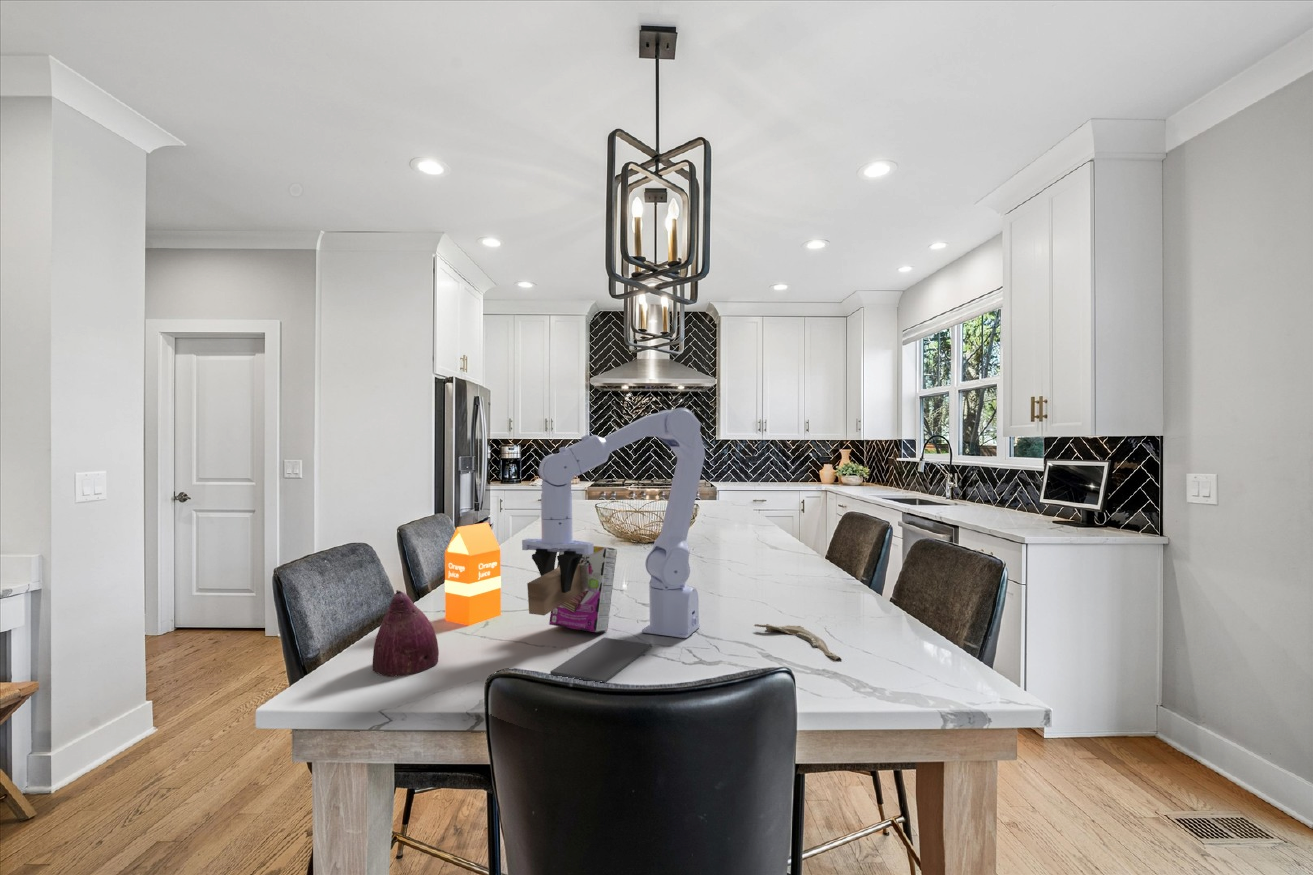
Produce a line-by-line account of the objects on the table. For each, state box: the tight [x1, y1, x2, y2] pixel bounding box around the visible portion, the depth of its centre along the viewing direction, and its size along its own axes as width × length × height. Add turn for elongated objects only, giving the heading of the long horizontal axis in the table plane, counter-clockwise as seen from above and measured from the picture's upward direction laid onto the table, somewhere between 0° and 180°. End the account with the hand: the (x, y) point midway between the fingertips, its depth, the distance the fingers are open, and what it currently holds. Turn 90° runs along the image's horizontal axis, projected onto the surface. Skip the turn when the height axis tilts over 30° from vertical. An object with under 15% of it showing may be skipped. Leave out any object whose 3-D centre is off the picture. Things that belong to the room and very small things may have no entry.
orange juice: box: [444, 522, 502, 626], centre depth 129 cm, size 8×9×20 cm
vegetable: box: [371, 589, 440, 678], centre depth 101 cm, size 10×10×15 cm
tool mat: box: [549, 637, 653, 683], centre depth 104 cm, size 10×18×1 cm, turn 156°
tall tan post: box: [526, 564, 590, 616], centre depth 112 cm, size 14×6×6 cm, turn 156°
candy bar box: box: [548, 545, 618, 633], centre depth 121 cm, size 11×5×16 cm, turn 64°
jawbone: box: [754, 623, 843, 662], centre depth 113 cm, size 9×20×2 cm, turn 35°
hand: (557, 590), depth 112 cm, fingers closed on tall tan post, 3 cm apart
